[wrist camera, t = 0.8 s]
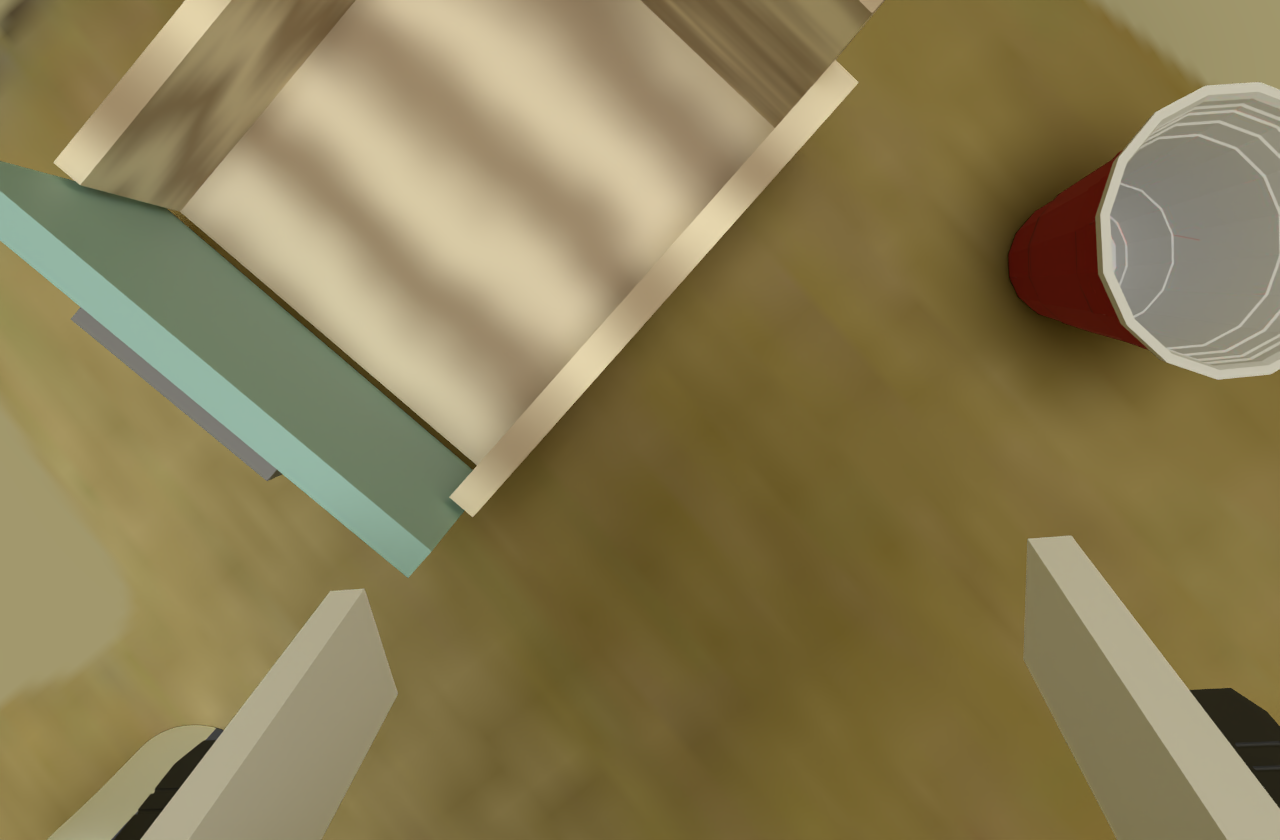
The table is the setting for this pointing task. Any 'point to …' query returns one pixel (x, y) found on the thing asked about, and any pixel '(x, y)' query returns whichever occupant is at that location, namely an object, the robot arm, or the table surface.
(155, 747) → the blue-banded white tube
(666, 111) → the crate
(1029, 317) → the table surface
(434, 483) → the teal flat panel
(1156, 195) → the plastic cup
